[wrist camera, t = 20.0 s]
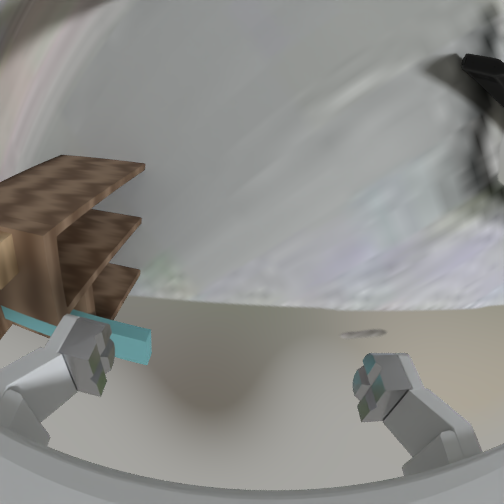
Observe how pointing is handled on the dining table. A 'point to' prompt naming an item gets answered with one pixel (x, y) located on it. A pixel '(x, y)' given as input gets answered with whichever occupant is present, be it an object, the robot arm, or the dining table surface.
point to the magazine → (486, 74)
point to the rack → (64, 240)
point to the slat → (123, 335)
